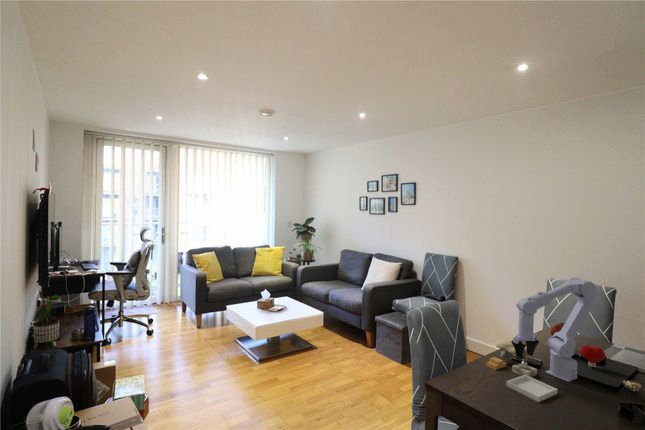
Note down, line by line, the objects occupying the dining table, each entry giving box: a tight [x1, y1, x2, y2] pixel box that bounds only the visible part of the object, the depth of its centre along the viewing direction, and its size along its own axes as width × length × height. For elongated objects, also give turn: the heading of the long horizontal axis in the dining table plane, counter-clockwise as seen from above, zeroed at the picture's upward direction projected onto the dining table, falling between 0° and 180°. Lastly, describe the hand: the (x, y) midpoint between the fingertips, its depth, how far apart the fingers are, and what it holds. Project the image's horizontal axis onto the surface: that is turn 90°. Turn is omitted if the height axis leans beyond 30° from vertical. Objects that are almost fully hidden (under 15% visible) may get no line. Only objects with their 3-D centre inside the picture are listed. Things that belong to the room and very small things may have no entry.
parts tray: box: [505, 375, 559, 403], centre depth 138 cm, size 13×13×2 cm
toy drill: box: [549, 322, 565, 354], centre depth 179 cm, size 5×19×15 cm, turn 126°
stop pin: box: [521, 359, 528, 370], centre depth 153 cm, size 2×2×6 cm
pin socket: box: [511, 362, 538, 378], centre depth 153 cm, size 7×7×2 cm
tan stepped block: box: [485, 356, 507, 371], centre depth 159 cm, size 8×4×4 cm, turn 119°
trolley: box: [496, 340, 529, 365], centre depth 164 cm, size 9×14×7 cm, turn 118°
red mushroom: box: [580, 344, 606, 368], centre depth 160 cm, size 9×7×10 cm
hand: (524, 356), depth 153 cm, fingers open, 7 cm apart
